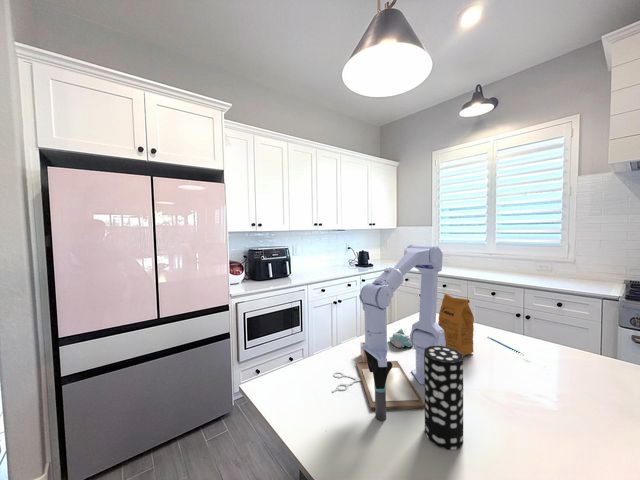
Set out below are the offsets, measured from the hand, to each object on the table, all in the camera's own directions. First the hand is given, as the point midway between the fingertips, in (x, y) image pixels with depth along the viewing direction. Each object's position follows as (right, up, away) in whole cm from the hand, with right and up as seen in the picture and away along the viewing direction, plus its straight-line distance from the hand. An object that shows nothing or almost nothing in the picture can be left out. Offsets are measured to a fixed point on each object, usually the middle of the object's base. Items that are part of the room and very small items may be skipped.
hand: (376, 379), depth 70 cm
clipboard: (+6, -9, +14) cm, 17 cm away
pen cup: (+4, -8, +30) cm, 31 cm away
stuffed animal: (+20, -8, +42) cm, 47 cm away
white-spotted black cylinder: (+14, -10, -7) cm, 19 cm away
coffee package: (+39, -7, +35) cm, 53 cm away
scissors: (-2, -10, +16) cm, 19 cm away
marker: (+1, -10, -1) cm, 10 cm away
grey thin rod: (+61, -7, +38) cm, 72 cm away
